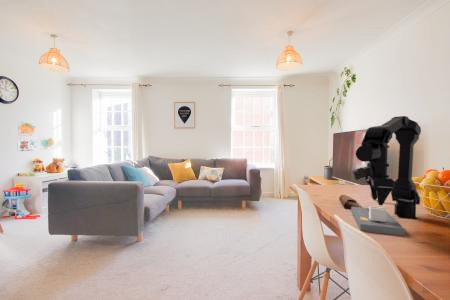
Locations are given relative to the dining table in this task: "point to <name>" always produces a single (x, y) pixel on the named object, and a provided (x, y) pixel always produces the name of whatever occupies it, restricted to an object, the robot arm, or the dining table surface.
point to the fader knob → (377, 214)
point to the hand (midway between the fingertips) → (377, 202)
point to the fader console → (376, 222)
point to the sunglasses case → (348, 202)
